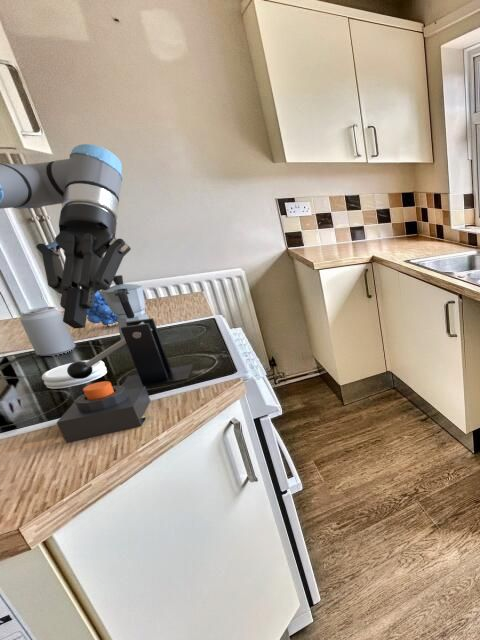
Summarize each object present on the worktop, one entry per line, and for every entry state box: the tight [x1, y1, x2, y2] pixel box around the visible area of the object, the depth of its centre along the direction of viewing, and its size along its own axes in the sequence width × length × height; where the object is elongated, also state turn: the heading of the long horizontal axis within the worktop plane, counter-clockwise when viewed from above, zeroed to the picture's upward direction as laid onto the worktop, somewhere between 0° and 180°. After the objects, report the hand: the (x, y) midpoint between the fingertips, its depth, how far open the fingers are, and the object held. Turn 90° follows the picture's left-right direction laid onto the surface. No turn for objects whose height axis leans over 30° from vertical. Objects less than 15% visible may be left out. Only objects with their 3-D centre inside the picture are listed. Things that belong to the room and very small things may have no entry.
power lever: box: [67, 322, 152, 379], centre depth 87 cm, size 16×4×4 cm, turn 119°
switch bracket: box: [121, 317, 195, 390], centre depth 90 cm, size 12×9×14 cm
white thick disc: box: [41, 359, 108, 390], centre depth 93 cm, size 10×10×4 cm
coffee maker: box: [99, 274, 150, 340], centre depth 117 cm, size 15×9×18 cm, turn 42°
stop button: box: [82, 380, 114, 400], centre depth 75 cm, size 4×4×2 cm
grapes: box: [86, 291, 118, 326], centre depth 129 cm, size 12×7×12 cm, turn 134°
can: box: [19, 306, 77, 357], centre depth 109 cm, size 8×8×12 cm
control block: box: [56, 385, 151, 444], centre depth 76 cm, size 10×9×6 cm
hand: (74, 324), depth 71 cm, fingers closed
